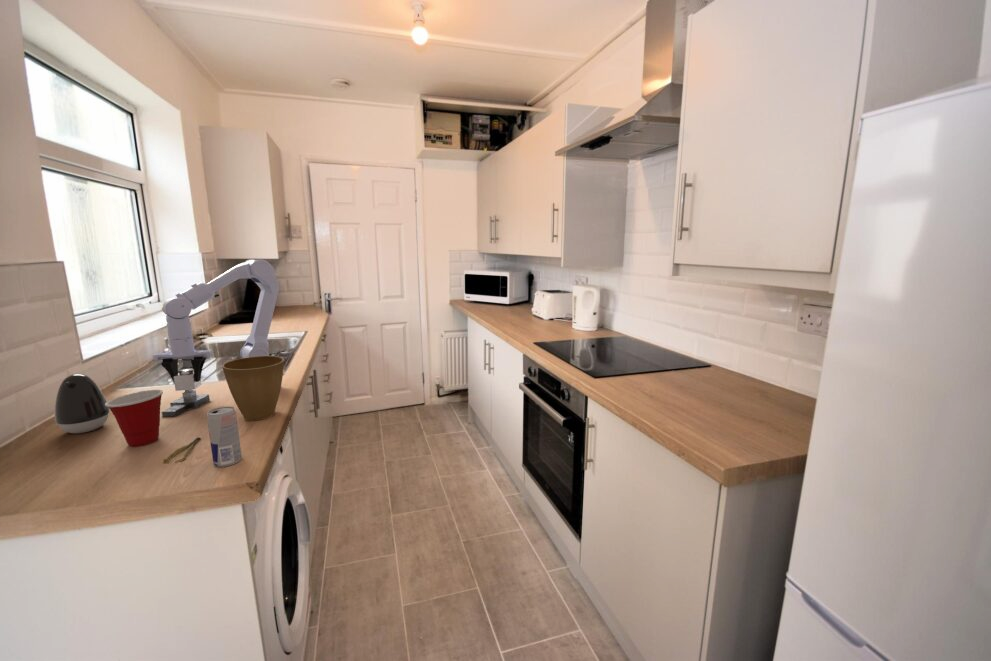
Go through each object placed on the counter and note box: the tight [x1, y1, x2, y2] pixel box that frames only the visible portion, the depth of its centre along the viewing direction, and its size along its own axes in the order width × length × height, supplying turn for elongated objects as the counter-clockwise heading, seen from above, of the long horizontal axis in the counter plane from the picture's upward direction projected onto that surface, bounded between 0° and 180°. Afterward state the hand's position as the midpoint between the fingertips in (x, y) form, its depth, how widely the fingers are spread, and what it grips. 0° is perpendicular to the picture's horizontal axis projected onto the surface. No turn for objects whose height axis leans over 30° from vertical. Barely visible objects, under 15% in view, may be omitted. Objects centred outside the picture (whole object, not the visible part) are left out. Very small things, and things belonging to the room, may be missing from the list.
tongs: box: [162, 437, 201, 464], centre depth 97 cm, size 4×13×2 cm, turn 16°
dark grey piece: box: [161, 389, 211, 418], centre depth 124 cm, size 7×13×5 cm, turn 4°
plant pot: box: [222, 355, 285, 422], centre depth 116 cm, size 15×15×16 cm
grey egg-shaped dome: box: [54, 373, 111, 434], centre depth 108 cm, size 10×10×15 cm
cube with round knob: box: [173, 369, 202, 392], centre depth 126 cm, size 5×5×6 cm
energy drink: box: [206, 405, 243, 468], centre depth 91 cm, size 5×5×12 cm
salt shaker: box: [178, 356, 193, 371], centre depth 155 cm, size 6×6×12 cm
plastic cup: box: [105, 389, 164, 448], centre depth 101 cm, size 11×11×12 cm
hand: (187, 381), depth 126 cm, fingers closed on cube with round knob, 5 cm apart
